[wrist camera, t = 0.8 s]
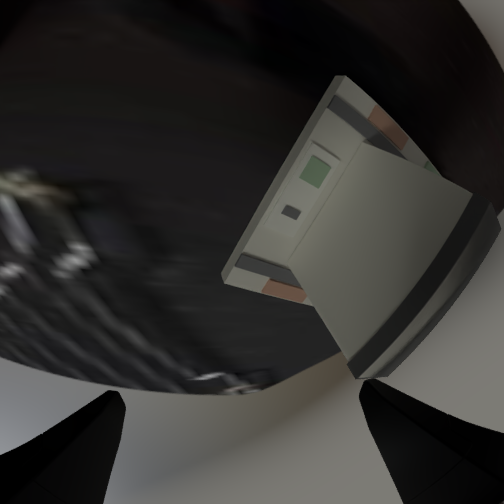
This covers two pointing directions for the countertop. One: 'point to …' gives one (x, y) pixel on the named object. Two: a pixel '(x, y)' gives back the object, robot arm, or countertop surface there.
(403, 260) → the switch slider
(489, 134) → the countertop surface
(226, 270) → the switch panel
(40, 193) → the countertop surface
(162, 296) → the countertop surface
